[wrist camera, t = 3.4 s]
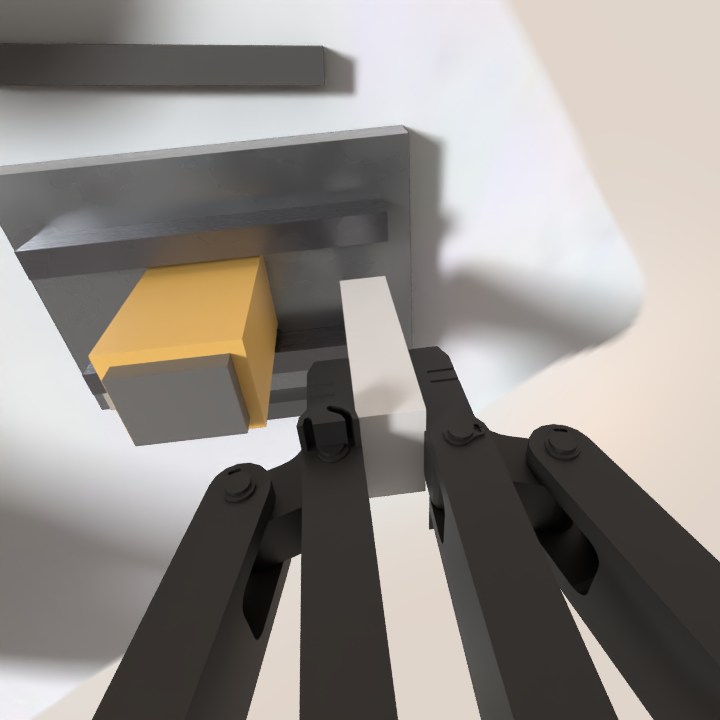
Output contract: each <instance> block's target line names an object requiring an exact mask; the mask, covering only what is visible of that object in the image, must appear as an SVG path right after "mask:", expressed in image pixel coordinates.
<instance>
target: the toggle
mask: <svg viewBox="0 0 720 720" xmlns="http://www.w3.org/2000/svg"><path fill="white" fill-rule="evenodd" d="M277 327H278V322H277V318H276V313H275V309H274V304H273V299H272V295H271V290H270V285H269V281H268V276H267V271H266V267H265V262H264V257H263V255H259V256H249V257H240V258H231V259H222V260H212V261H203V262H194V263H185V264H176V265H166V266H157V267H148V269H147V270H146V272H145V273H144V275H143V276H142V278H141V279H140V281H139V282H138V284H137V285H136V286H135V288H134V289H133V291H132V292H131V294H130V295H129V297H128V298H127V300H126V301H125V303H124V304H123V306H122V307H121V309H120V310H119V311H118V313H117V314H116V316H115V317H114V319H113V320H112V322H111V323H110V325H109V326H108V328H107V329H106V331H105V332H104V334H103V335H102V337H101V338H100V339H99V341H98V342H97V344H96V345H95V347H94V348H93V350H92V351H91V353H90V354H89V356H88V357H89V359H90V361H91V363H92V365H93V367H94V369H95V370H96V372H97V374H98V376H99V378H100V380H101V382H102V384H103V386H104V388H105V389H106V391H107V393H108V395H109V397H110V399H111V401H112V403H113V405H114V407H115V408H116V410H117V412H118V414H119V416H120V418H121V420H122V422H123V424H124V426H125V427H126V429H127V431H128V433H129V435H130V437H131V439H132V441H133V442H134V444H135V446H143V445H151V444H160V443H168V442H177V441H185V440H194V439H202V438H211V437H219V436H228V435H236V434H245V433H248V429H252V428H261V427H266V424H267V415H268V406H269V397H270V389H271V380H272V371H273V362H274V353H275V344H276V335H277Z"/></svg>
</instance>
